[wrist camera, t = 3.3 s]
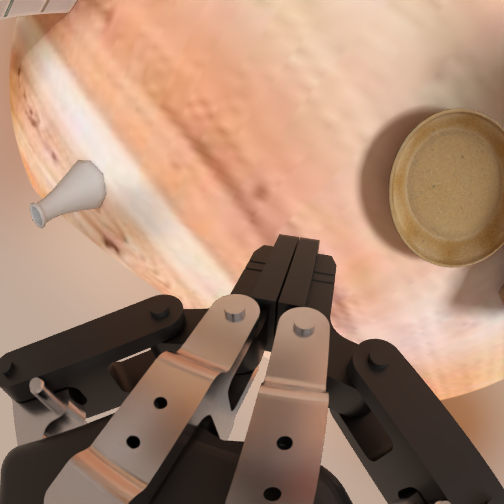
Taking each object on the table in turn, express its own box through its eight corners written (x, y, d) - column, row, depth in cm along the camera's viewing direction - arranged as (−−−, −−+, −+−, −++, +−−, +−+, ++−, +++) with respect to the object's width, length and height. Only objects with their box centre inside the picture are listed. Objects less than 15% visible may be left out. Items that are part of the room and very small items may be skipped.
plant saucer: (406, 269, 26) (410, 285, 24) (359, 134, 20) (361, 139, 18) (517, 230, 18) (528, 243, 16) (493, 91, 13) (507, 93, 11)
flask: (76, 152, 30) (19, 180, 22) (109, 169, 30) (49, 203, 22) (74, 194, 35) (25, 226, 27) (106, 214, 35) (55, 252, 27)
